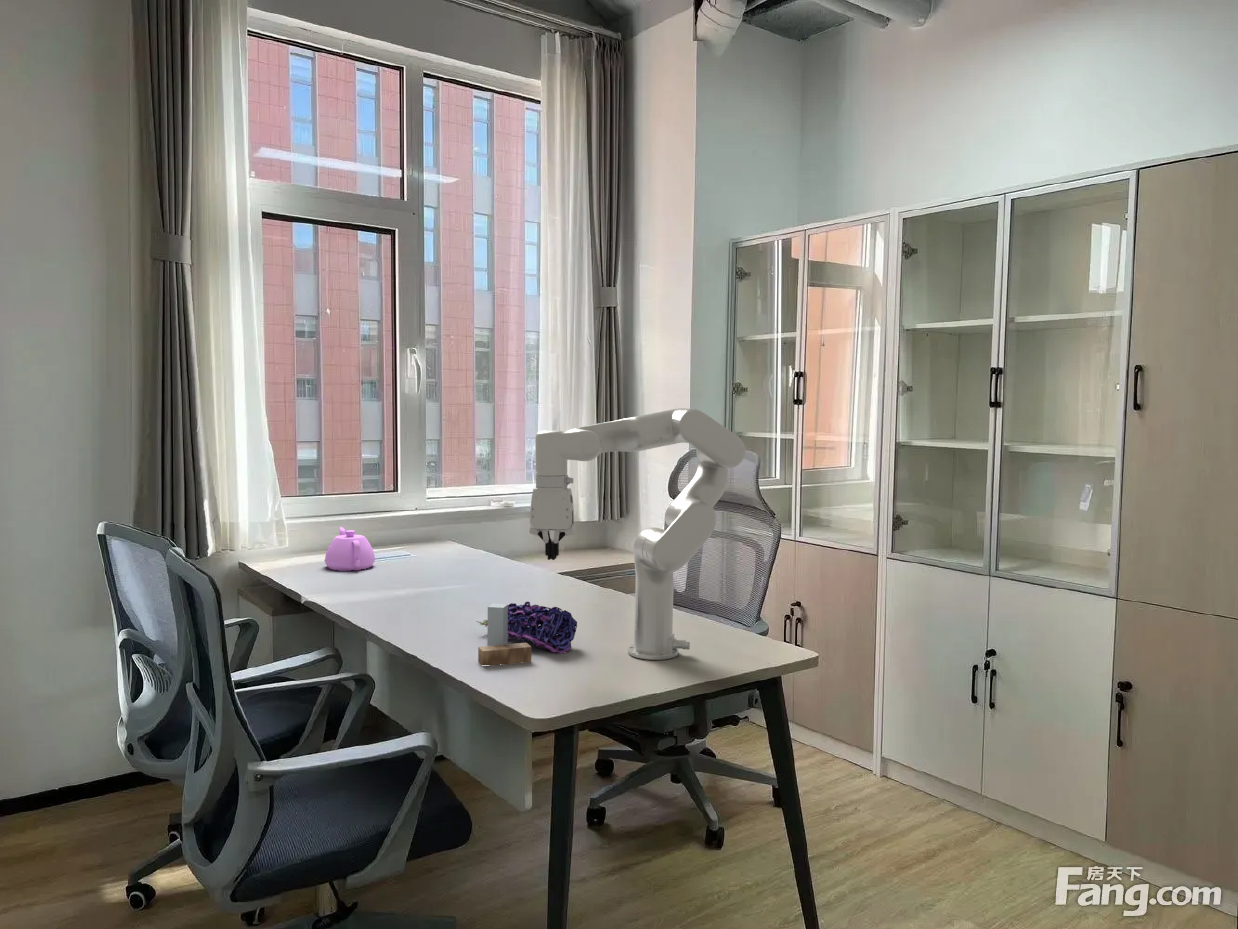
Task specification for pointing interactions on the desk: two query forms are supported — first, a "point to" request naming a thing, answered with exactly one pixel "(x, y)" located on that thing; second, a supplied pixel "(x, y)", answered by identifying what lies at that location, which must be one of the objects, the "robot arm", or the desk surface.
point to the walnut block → (504, 654)
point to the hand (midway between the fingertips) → (552, 558)
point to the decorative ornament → (541, 626)
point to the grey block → (497, 624)
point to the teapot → (349, 552)
